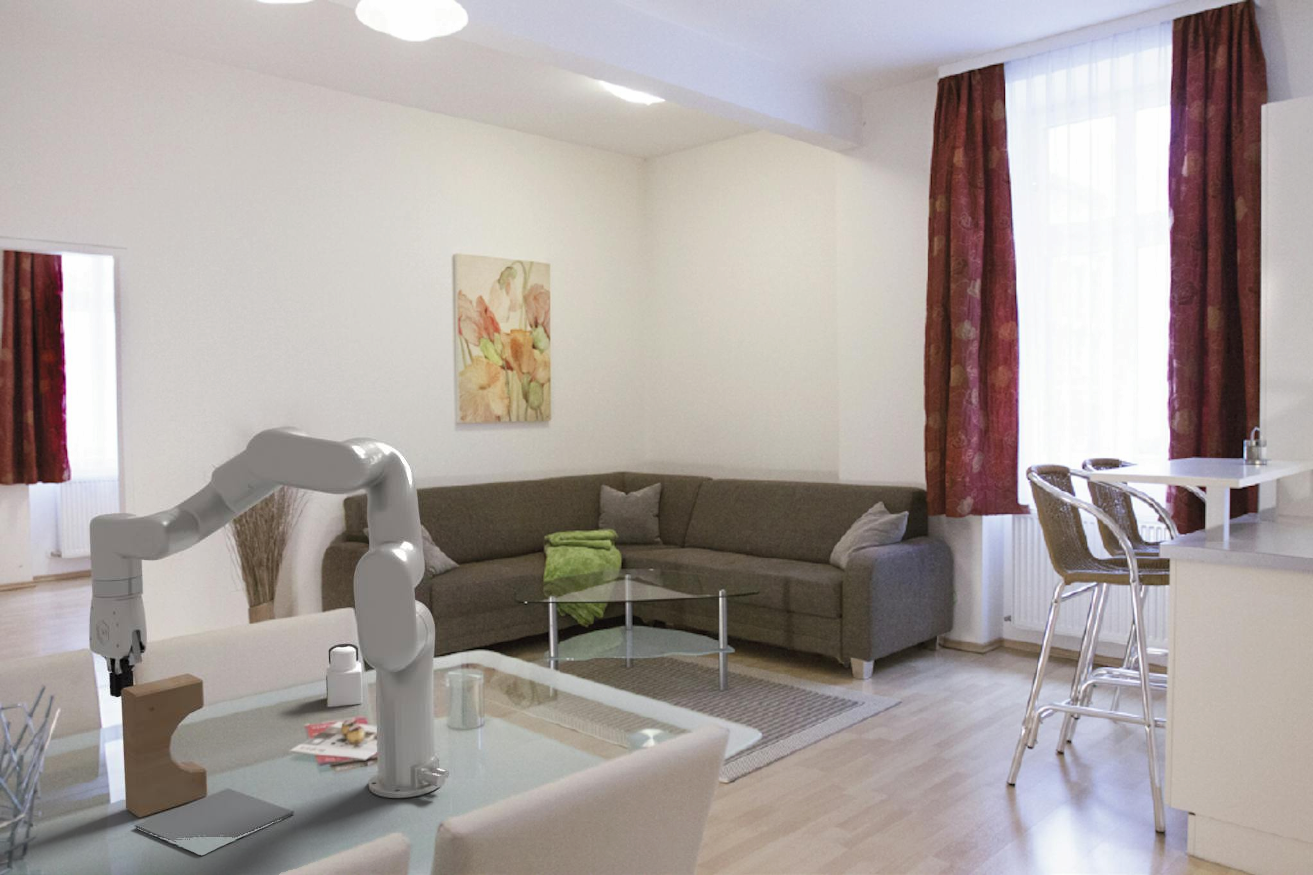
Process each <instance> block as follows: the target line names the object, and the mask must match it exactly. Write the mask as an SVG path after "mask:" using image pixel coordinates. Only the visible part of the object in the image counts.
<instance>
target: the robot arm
mask: <svg viewBox="0 0 1313 875" xmlns="http://www.w3.org/2000/svg"><path fill="white" fill-rule="evenodd" d="M411 468H412V467H411V466H410V464H409V463H408V461H407V459H406V458H405V456H403V455H402V454H401V453H400V452H399V451H398V450H397V449H395V448H394V446H392V445H389V444H388V443H385V442H383V441H381V440H379V439H376V438H370V437H354V438H349V439H345V440H341V441H337V440H331V439H323V438H319V437H318V438H316V437H312V436H311V435H310V434H309V433H307V432H306V431H305V429H304V430H303V429H301V428H299V427H297V426H291V425H290V426H280V427H274V428H268V429H265V430H262V431H259V432H258V433H256V434H255V435H254V436H253V437H252V438H251V439H250V440H249V442H248V443H247V445H246V447H245V450H243V451H242V452H240V453H238V454H236V455H235V456H233V457H232V458H230V459H229V460H228V461H227V460H226V462H224V463H222V464H220V465H219V466H218V467H216V468H215V469H214V470H213V471H212V472H211V477H210V478H211V479H210V481H209V482H208V483H207V484H206V485H205V486H204V487H203V488H202V489H200V490H199V491H197V492H196V493H194V494H193V495H191V496H190V497H188V498H186V499H185V500H183V501H182V502H181V503H179V504H177V505H175V506H174V507H172V508H170V509H166V510H162V511H159V512H155V513H153V514H149V515H145V516H139V517H138V516H137V515H136V514H133V513H129V512H128V513H127V512H125V513H124V512H123V513H122V512H117V513H115V512H113V513H107V514H100V515H97V516H95V517H93V518H92V519H91V520H90V522H89V549H90V550H89V551H90V570H91V573H90V574H91V592H92V593H91V594H92V596H91V600H90V610H89V624H88V625H89V628H88V629H89V630H88V631H89V634H88V635H89V640H88V642H89V650H90V651H91V652H92V653H94V654H96V655H99V656H101V657H102V658H104V659H105V662H106V668H107V672H108V673H109V674H108V675H109V677H108V678H109V695H110V696H111V697H113V698H121V690H122V689H123V688H126V687H131V686H135V684H134V670H136V665H138V664H141V663H143V658H142V654H144V653H145V652H146V651H147V648H148V634H147V632H148V631H147V622H146V621H147V620H146V613H145V606H144V601H143V596H142V595H143V594H144V587H143V586H144V583H143V582H144V581H143V561H159V560H163V559H165V558H167V557H171V556H173V555H175V554H177V553H180V552H183V551H186V550H188V549H190V548H192V547H194V546H195V545H197V544H199V543H200V542H202V541H203V540H205V539H206V538H208V537H210V536H211V535H212V534H215V532H217V531H219V530H221V529H222V528H223V527H225V526H226V525H228V524H229V523H230V522H232V521H234V519H236V518H238V517H240V516H241V515H243V514H244V513H245V512H246V511H248V510H249V509H251V508H253V507H254V506H255V505H257V504H258V503H260V502H261V501H263V500H265V499H266V498H267V497H269V496H270V495H272V494H273V493H275V492H276V491H279V489H281V488H283V487H290V488H294V489H295V488H296V489H299V490H300V489H301V490H308V491H312V492H319V493H325V494H332V495H349V494H350V495H351V494H354V493H356V492H358V491H361V490H364V491H365V493H366V497H367V504H366V505H367V506H366V518H367V519H366V521H367V527H368V539H369V540H368V541H369V545H368V546H369V547H368V549H369V550H367V551H366V552H365V553H364V554H363V555H362V556H361V558H360V559H359V560H358V562H357V564H356V567H355V570H354V575H353V593H354V594H353V595H354V596H353V597H354V606H355V618H356V630H357V638H358V646H359V647H358V648H359V651H360V653H361V656H362V658H363V659H364V661H365V663H366V664H368V665H369V666H370V667H371V668H373V669H374V670H375V709H376V710H375V711H376V712H375V713H376V718H375V719H376V743H377V744H376V745H377V746H376V748H377V749H376V750H377V771H376V772H375V773H373V774H372V775H371V776H370V778H369V779H368V789H369V790H370V792H372V793H373V794H374V795H377V796H379V797H383V798H388V799H404V798H405V799H407V798H414V797H418V796H422V795H426V794H428V793H432V792H433V791H435V790H437V789H438V788H441V787H443V785H444V784H445V782H446V780H447V779H448V778H449V776H450V771H449V770H448V769H444V768H442V767H440V757H437V756H436V754H435V753H436V752H435V750H436V749H435V745H436V743H435V713H434V712H435V711H434V710H435V709H434V703H435V702H434V693H435V692H434V691H435V690H434V687H435V686H434V665H435V664H434V663H435V661H434V657H435V644H436V628H435V627H436V626H435V621H434V620H435V619H434V617H433V614H432V613H431V610H430V609H429V608H428V607H427V606H426V605H425V604H424V603H423V602H420V601H419V600H416V595H415V588H417V586H418V585H419V584H420V583H421V581H422V579H423V578H424V576H425V575H424V574H425V570H426V566H425V565H426V563H425V556H424V549H423V537H422V526H421V518H420V510H419V498H418V492H417V491H418V489H417V485H416V479H415V476H414V473H413V470H412V469H411Z"/></svg>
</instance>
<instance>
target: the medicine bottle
mask: <svg viewBox="0 0 1313 875" xmlns="http://www.w3.org/2000/svg"><path fill="white" fill-rule="evenodd" d="M325 672H326V676H325V677H326V678H325V680H326V681H325V683H326V707H327V708H334V707H335V708H337V707H343V706H344V707H346V706H352V705H353V706H354V705H362V704H363V677H362V676H363V675H362V663H361V662H359V647H358V646H357V645H355V644H353V643H340V644H336V645H333V646H332V647H330V648H329V649H328V665H327V666H326V670H325Z"/></svg>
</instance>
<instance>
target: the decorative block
mask: <svg viewBox="0 0 1313 875" xmlns="http://www.w3.org/2000/svg"><path fill="white" fill-rule="evenodd" d="M204 694H205V693H204V680H203V679H201V678H199V677H197V676H194V675H193V674H190V673H184V674H181V675H175V676H171V677H167V678H162V679H159V680H154V681H150V682H145V683H140V684H136V685H135V684H134V686H131V687H126V688H123V689H122V690H121V696H120V700H121V701H120V702H121V720H122V723H121V724H122V725H121V726H122V742H123V743H122V745H123V746H122V748H123V768H124V791H125V809H126V810H127V811H129V812H131V814H133V815H135V816H136V817H138V818H140V819H142V818H145V817H148V816H151V815H154V814H158V813H161V812H164V811H166V810H170V809H173V808H176V807H181V806H184V805H187V804H189V803H192V802H194V801H197V800H199V799H202V798H204V797H207V796H208V778H207V777H208V776H207V773H208V772H207V769H206V768H204V767H202V766H200V765H198V764H197V763H195V762H193V761H182V762H179V761H177V760H176V759H174V757H173V753H172V750H171V745H172V744H171V743H172V736H173V735H174V733H175V732H176V731H177V729H178V727H179V725H180V724H181V723H182V722H183V721H184V720H185V719H186V718H187V717H188V716H189V715H190V714H192V713H195V712H197V711H199V710H201V709H203V707H204V706H205V698H204V696H205V695H204Z"/></svg>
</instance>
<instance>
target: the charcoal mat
mask: <svg viewBox="0 0 1313 875" xmlns="http://www.w3.org/2000/svg"><path fill="white" fill-rule="evenodd" d="M294 813H295V812H294V810H291V809H289V808H286V807H282V806H280V805H276V804H275V803H271V802H268V801H265V800H262V799H260V798H257V797H254V796H251V795H249V794H246V793H244V792H239V791H237V790H234V789H231V788H229V787H228V788H227V787H226V788H225V789H222V790H220V791H217V792H214V793H213V794H210V795H207V796H206V797H204V798H201V799H198V800H195V801H192V802H189V803H186V804H183V805H181V806H178V808H174V809H172V810H169V811H167V812H164V813H163V814H159V815H156V816H154V817H152V818H149V819H147V820H144V821H142V822H139V823H137V824H134V828H135V827H136V828H139V829H141V830H143V831H146V832H148V833H152V834H153V835H157V836H158V837H162V838H166V839H168V840H172V841H174V840H183V839H177V838H184V837H185V838H193V837H197V838H198V837H202V838H203V837H225V838H226V837H232V838H233V837H234V838H235V837H238V836H240V835H243V834H245V833H248V832H251V831H254V830H255V829H258V828H261V827H263V826H265V825H267V824H270V823H272V822H275V821H277V820H280V819H284V818H286V817H288V818H290V817H291V816H290V815H292V816H294V815H293V814H294ZM289 816H290V817H289ZM286 819H287V818H286ZM284 820H285V819H284ZM199 835H200V836H199ZM204 835H205V836H204ZM220 835H221V836H220ZM222 835H223V836H222ZM185 840H186V839H185ZM187 840H188V839H187ZM189 840H190V839H189ZM174 842H176V841H174Z"/></svg>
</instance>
